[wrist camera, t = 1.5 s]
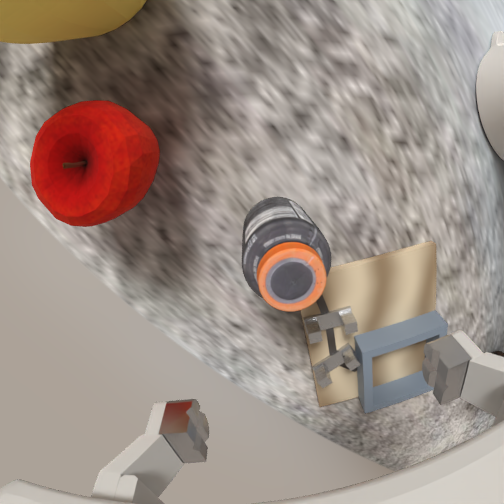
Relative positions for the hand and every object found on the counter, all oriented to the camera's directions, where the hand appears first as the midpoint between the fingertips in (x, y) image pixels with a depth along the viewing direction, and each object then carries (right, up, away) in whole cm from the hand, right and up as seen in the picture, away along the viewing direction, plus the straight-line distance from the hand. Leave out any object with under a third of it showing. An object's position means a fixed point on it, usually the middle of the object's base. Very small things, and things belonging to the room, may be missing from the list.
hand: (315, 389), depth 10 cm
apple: (-13, +13, +16) cm, 25 cm away
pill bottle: (0, +7, +19) cm, 20 cm away
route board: (+11, -4, +23) cm, 26 cm away
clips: (+6, -5, +22) cm, 23 cm away
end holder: (+15, -7, +24) cm, 29 cm away
